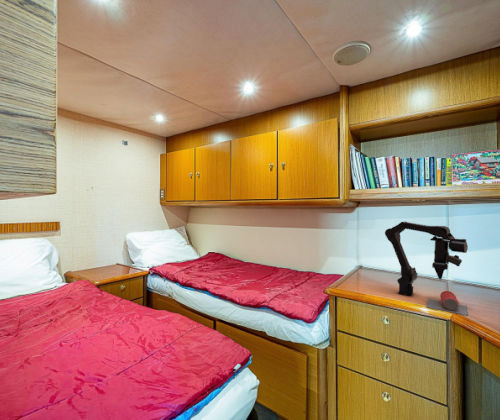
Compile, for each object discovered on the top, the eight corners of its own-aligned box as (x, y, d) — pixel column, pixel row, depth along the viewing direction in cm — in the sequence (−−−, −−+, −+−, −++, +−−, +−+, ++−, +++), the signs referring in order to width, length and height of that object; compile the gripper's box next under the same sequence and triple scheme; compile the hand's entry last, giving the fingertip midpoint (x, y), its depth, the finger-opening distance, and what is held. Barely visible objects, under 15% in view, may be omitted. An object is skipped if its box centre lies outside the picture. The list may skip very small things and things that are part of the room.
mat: (426, 307, 128) (426, 306, 128) (428, 299, 139) (428, 298, 139) (468, 316, 118) (468, 315, 118) (466, 306, 129) (466, 305, 129)
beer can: (457, 293, 131) (460, 300, 121) (454, 305, 131) (457, 313, 121) (441, 288, 134) (443, 295, 124) (438, 300, 135) (441, 308, 125)
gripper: (461, 254, 122) (459, 286, 122) (460, 249, 136) (459, 278, 137) (432, 251, 129) (431, 281, 129) (435, 246, 143) (434, 274, 144)
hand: (440, 278), depth 134 cm, fingers closed
